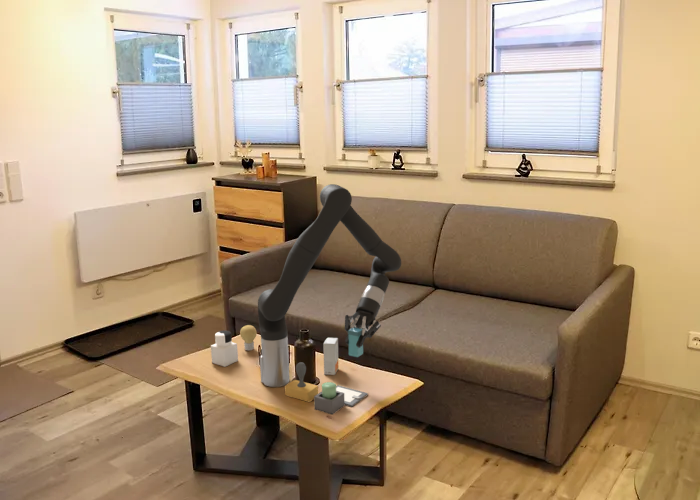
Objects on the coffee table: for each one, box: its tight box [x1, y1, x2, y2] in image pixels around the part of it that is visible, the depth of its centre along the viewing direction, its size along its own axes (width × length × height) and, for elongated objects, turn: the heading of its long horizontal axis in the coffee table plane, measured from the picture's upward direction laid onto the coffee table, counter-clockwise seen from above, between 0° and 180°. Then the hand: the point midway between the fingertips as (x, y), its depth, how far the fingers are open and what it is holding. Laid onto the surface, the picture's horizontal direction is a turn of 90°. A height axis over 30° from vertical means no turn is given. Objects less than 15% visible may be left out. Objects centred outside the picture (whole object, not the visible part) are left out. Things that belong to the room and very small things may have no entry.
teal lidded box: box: [347, 327, 364, 358], centre depth 224 cm, size 4×4×9 cm
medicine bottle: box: [210, 329, 239, 368], centre depth 248 cm, size 7×7×12 cm
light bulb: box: [239, 324, 257, 352], centre depth 260 cm, size 6×6×10 cm
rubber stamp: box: [284, 361, 319, 403], centre depth 220 cm, size 10×6×12 cm, turn 59°
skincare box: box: [322, 337, 339, 376], centre depth 238 cm, size 6×4×12 cm
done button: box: [321, 381, 337, 400], centre depth 211 cm, size 5×5×4 cm
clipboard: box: [336, 384, 368, 407], centre depth 220 cm, size 12×10×1 cm
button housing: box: [313, 391, 346, 415], centre depth 212 cm, size 7×7×4 cm
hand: (352, 345), depth 223 cm, fingers closed on teal lidded box, 3 cm apart
